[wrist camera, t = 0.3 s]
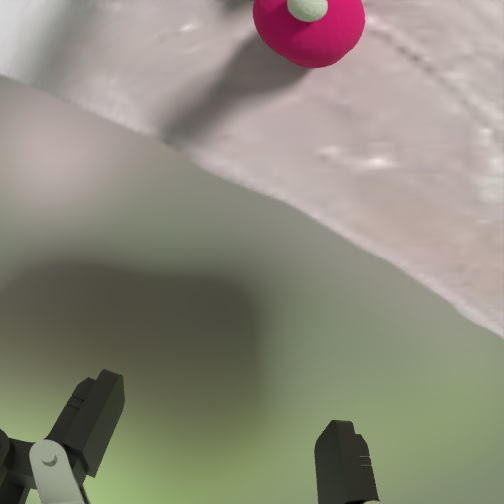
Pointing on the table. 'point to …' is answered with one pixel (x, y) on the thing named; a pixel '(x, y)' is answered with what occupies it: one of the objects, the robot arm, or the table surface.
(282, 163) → the table surface
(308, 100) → the table surface
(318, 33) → the pepper mill
